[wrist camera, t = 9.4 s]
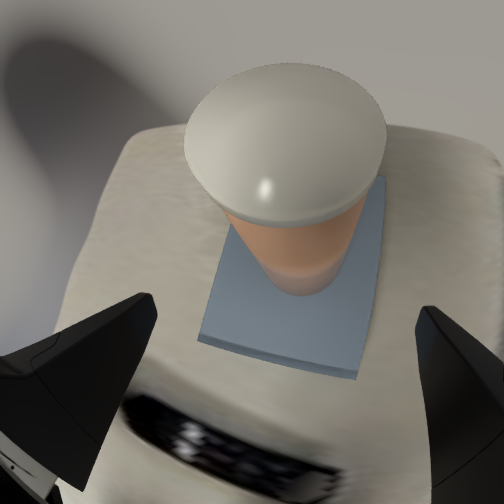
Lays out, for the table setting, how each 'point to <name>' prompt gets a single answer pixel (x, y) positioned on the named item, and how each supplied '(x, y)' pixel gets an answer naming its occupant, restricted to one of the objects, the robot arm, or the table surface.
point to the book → (299, 304)
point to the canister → (289, 165)
